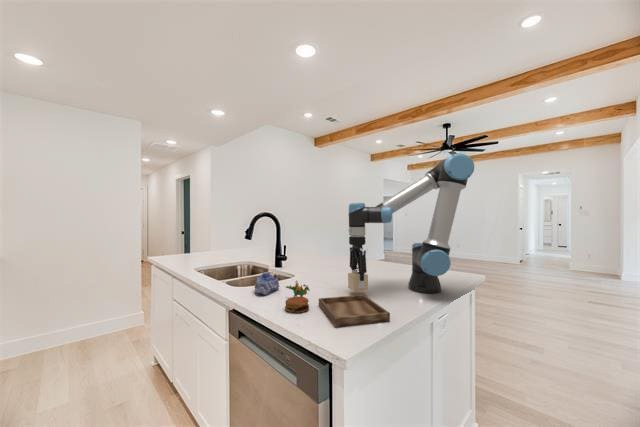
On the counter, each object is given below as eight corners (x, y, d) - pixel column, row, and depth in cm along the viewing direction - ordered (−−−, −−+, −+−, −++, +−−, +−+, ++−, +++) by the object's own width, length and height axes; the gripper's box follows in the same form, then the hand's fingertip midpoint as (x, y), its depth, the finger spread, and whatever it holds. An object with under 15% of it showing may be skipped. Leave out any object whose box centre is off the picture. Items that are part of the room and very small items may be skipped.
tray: (363, 301, 116) (363, 294, 116) (389, 321, 95) (389, 313, 95) (318, 305, 111) (318, 298, 111) (335, 327, 90) (335, 318, 90)
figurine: (308, 301, 116) (308, 282, 116) (283, 298, 120) (283, 280, 120) (311, 299, 119) (311, 280, 119) (286, 296, 123) (286, 278, 123)
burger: (282, 307, 109) (282, 296, 109) (303, 304, 113) (303, 293, 113) (289, 316, 100) (289, 303, 100) (312, 312, 104) (312, 300, 104)
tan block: (361, 286, 130) (361, 271, 130) (368, 290, 123) (367, 275, 123) (348, 287, 128) (348, 272, 128) (353, 291, 121) (353, 276, 121)
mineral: (262, 269, 138) (280, 270, 135) (265, 287, 139) (282, 288, 135) (246, 279, 125) (264, 280, 121) (248, 299, 125) (267, 300, 122)
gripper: (342, 234, 134) (343, 281, 134) (358, 238, 115) (358, 292, 115) (356, 234, 136) (357, 279, 136) (374, 237, 117) (375, 290, 117)
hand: (357, 285), depth 126 cm, fingers closed on tan block, 7 cm apart
